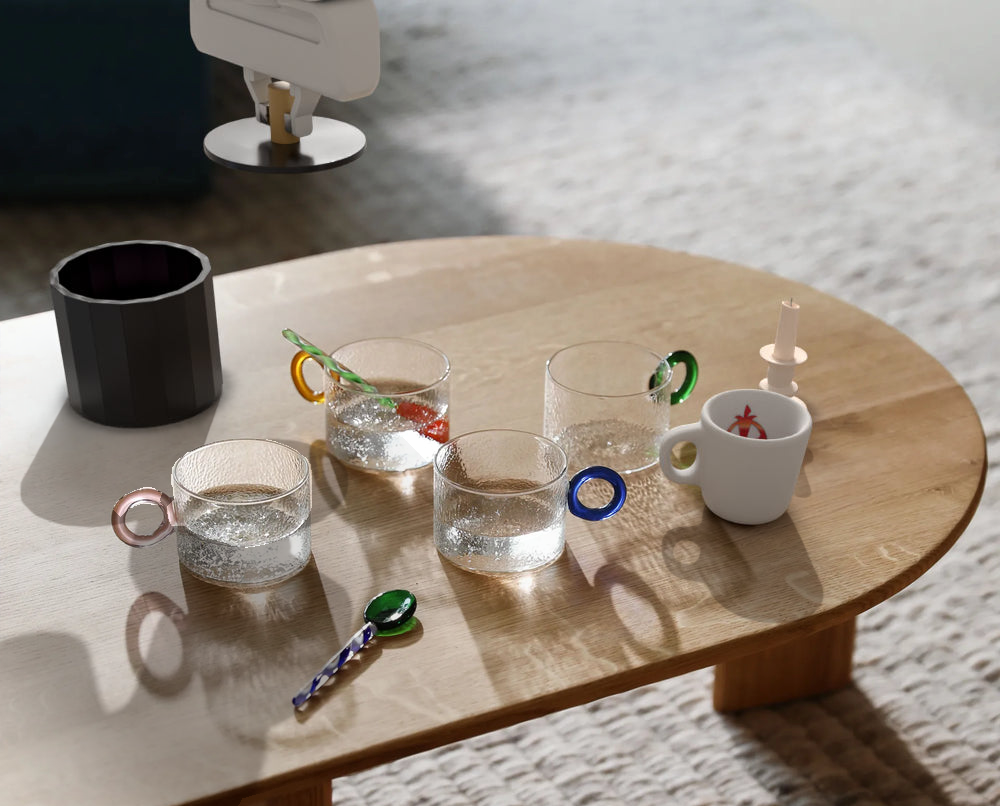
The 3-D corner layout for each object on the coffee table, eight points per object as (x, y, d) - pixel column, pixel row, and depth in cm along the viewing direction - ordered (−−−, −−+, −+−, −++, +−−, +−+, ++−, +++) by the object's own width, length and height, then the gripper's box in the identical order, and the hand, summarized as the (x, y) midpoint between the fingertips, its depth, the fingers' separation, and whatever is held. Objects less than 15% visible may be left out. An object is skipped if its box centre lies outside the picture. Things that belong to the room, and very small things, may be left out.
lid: (195, 133, 120) (189, 66, 117) (348, 123, 124) (346, 58, 121) (215, 187, 110) (209, 115, 106) (382, 175, 113) (381, 105, 110)
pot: (66, 366, 122) (46, 248, 116) (212, 350, 125) (200, 234, 119) (73, 437, 112) (52, 311, 106) (231, 417, 115) (220, 294, 109)
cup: (661, 537, 101) (670, 441, 97) (647, 478, 108) (655, 387, 104) (808, 536, 102) (824, 441, 97) (786, 478, 108) (799, 387, 104)
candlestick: (786, 392, 120) (803, 280, 115) (818, 421, 116) (837, 306, 111) (732, 401, 119) (747, 288, 113) (762, 430, 115) (779, 315, 109)
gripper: (163, -65, 112) (179, 106, 119) (327, -18, 100) (334, 169, 108) (227, -74, 116) (239, 92, 123) (393, -30, 104) (394, 151, 112)
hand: (284, 128), depth 115 cm, fingers closed on lid, 2 cm apart
